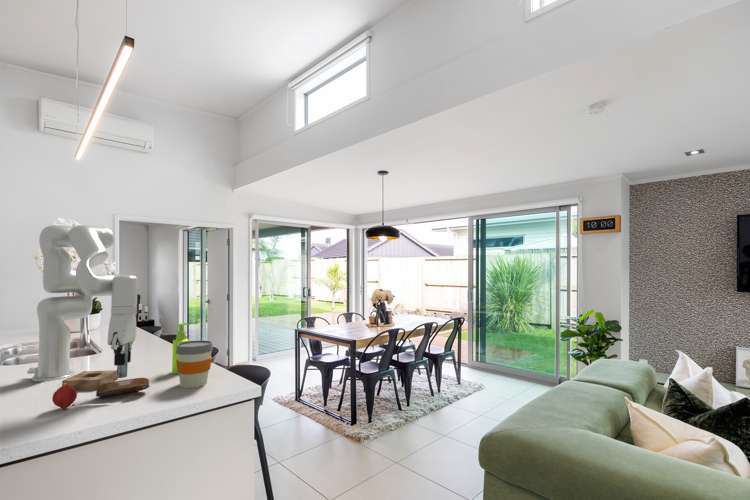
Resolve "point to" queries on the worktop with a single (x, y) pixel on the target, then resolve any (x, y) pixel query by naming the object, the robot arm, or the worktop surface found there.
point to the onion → (64, 396)
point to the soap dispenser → (180, 338)
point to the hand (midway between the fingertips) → (122, 363)
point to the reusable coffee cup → (193, 362)
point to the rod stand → (91, 379)
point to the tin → (122, 386)
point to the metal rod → (123, 368)
